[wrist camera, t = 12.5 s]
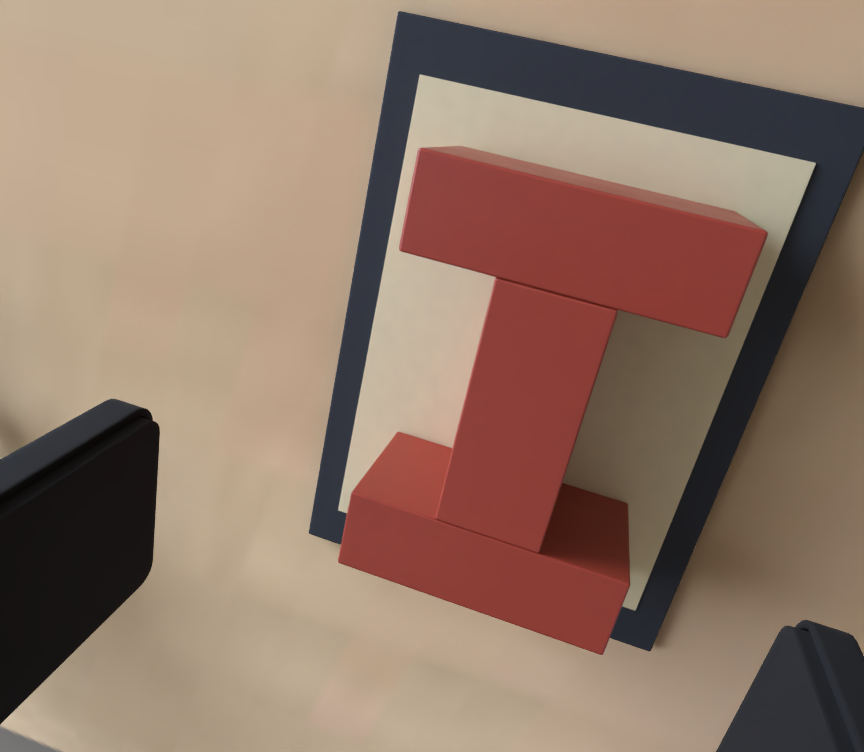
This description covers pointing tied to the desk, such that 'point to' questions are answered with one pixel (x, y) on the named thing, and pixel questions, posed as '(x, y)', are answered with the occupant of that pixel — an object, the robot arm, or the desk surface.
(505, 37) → the desk mat
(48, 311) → the desk surface
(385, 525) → the letter I
